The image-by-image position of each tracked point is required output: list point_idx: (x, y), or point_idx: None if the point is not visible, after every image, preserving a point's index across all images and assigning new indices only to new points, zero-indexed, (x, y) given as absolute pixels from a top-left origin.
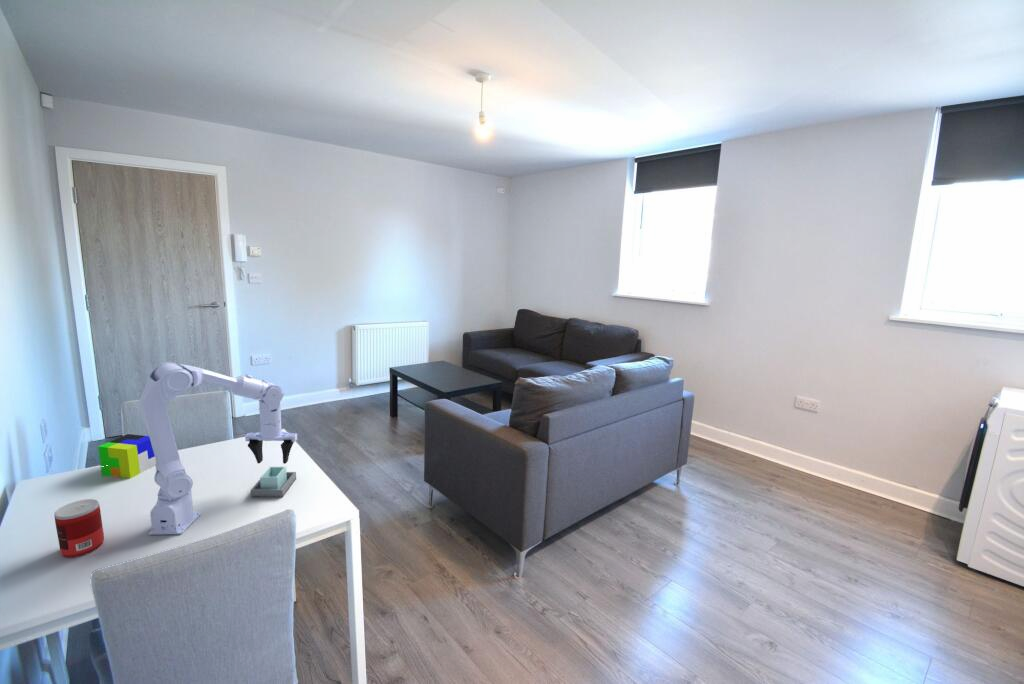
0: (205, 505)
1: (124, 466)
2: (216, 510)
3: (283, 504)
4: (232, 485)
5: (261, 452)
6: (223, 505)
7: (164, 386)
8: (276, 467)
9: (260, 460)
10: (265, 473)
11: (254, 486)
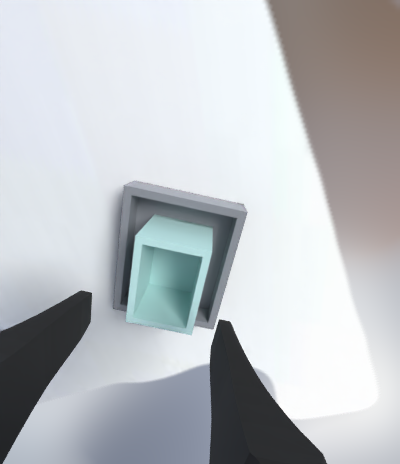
0: (19, 302)
1: None
2: None
3: None
4: (33, 204)
5: (56, 330)
6: None
7: None
8: (168, 249)
9: (84, 322)
10: (136, 293)
11: (117, 290)
